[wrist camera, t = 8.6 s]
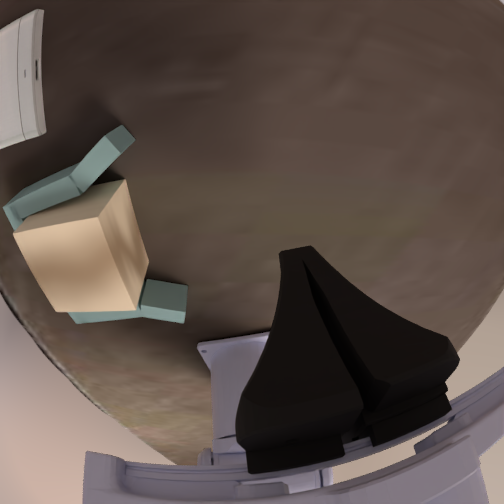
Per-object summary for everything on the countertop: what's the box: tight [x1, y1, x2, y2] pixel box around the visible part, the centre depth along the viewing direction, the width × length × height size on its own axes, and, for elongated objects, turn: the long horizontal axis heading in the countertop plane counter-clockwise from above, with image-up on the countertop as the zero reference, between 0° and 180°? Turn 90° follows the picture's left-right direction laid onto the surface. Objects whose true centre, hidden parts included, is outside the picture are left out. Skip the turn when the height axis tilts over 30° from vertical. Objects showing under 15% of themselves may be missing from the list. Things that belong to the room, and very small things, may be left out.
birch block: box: [13, 179, 149, 312], centre depth 14 cm, size 6×6×4 cm
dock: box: [3, 125, 188, 324], centre depth 15 cm, size 13×9×2 cm
